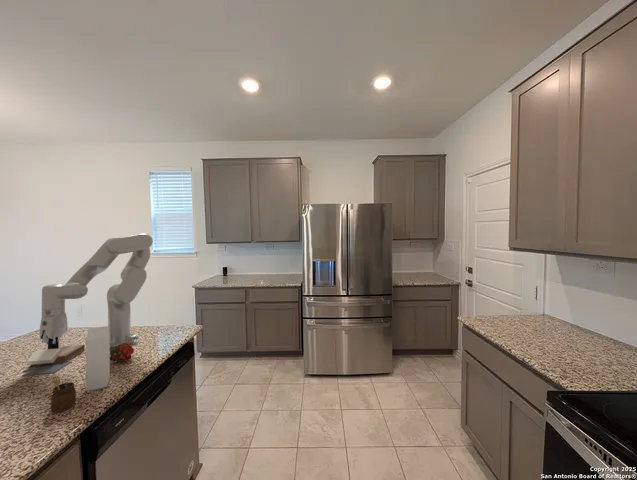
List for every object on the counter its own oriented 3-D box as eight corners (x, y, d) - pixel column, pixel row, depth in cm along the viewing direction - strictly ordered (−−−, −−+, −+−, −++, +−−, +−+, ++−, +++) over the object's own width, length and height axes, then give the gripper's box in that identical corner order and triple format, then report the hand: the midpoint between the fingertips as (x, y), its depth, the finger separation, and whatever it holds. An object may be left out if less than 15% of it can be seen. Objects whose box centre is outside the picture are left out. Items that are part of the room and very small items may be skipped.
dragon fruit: (116, 371, 113) (122, 363, 124) (136, 355, 117) (140, 349, 128) (102, 357, 112) (109, 350, 123) (122, 341, 116) (127, 337, 126)
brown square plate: (84, 350, 131) (84, 344, 131) (65, 362, 118) (65, 356, 118) (53, 353, 128) (53, 346, 128) (30, 365, 115) (30, 358, 115)
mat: (71, 362, 118) (71, 361, 118) (54, 373, 109) (54, 372, 109) (42, 364, 116) (42, 363, 116) (22, 376, 106) (22, 375, 106)
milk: (106, 387, 98) (106, 328, 98) (85, 391, 96) (85, 331, 95) (109, 379, 104) (109, 323, 104) (89, 383, 101) (90, 326, 101)
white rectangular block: (62, 351, 120) (60, 348, 119) (52, 362, 115) (51, 359, 114) (38, 352, 118) (37, 349, 117) (28, 364, 113) (26, 361, 112)
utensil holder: (80, 401, 90) (80, 366, 90) (65, 413, 84) (65, 375, 84) (60, 402, 89) (60, 367, 89) (44, 415, 83) (44, 377, 83)
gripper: (49, 315, 114) (49, 358, 114) (74, 307, 128) (74, 344, 128) (29, 316, 112) (28, 359, 112) (56, 308, 127) (56, 345, 127)
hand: (53, 351), depth 120 cm, fingers closed
